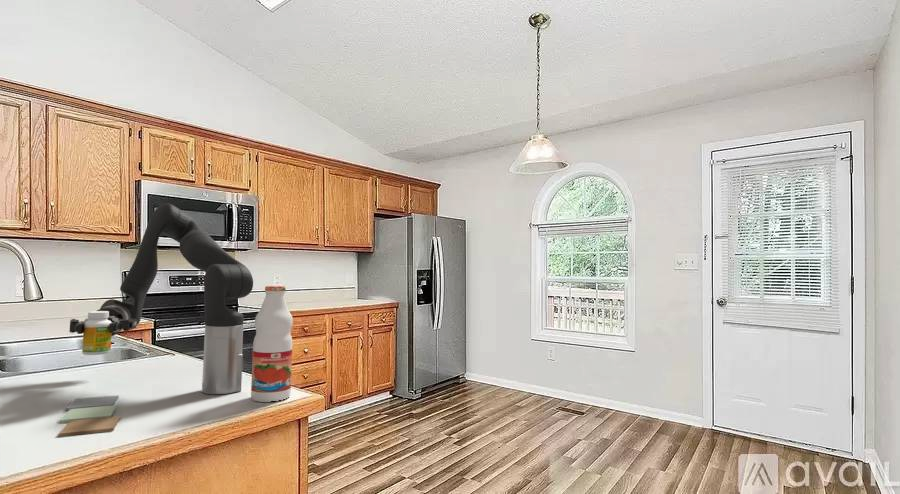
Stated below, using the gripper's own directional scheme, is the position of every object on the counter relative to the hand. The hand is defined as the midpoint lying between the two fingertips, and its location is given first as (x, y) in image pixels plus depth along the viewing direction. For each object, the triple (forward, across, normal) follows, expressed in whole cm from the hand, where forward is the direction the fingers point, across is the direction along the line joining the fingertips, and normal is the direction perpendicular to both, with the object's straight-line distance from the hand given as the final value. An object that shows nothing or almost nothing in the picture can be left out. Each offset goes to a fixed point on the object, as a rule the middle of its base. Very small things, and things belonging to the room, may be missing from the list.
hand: (95, 328), depth 111 cm
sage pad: (+7, +1, +18) cm, 19 cm away
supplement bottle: (-3, 0, +6) cm, 7 cm away
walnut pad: (+17, +3, +18) cm, 25 cm away
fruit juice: (+7, +38, +18) cm, 43 cm away
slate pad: (-2, 0, +18) cm, 18 cm away
